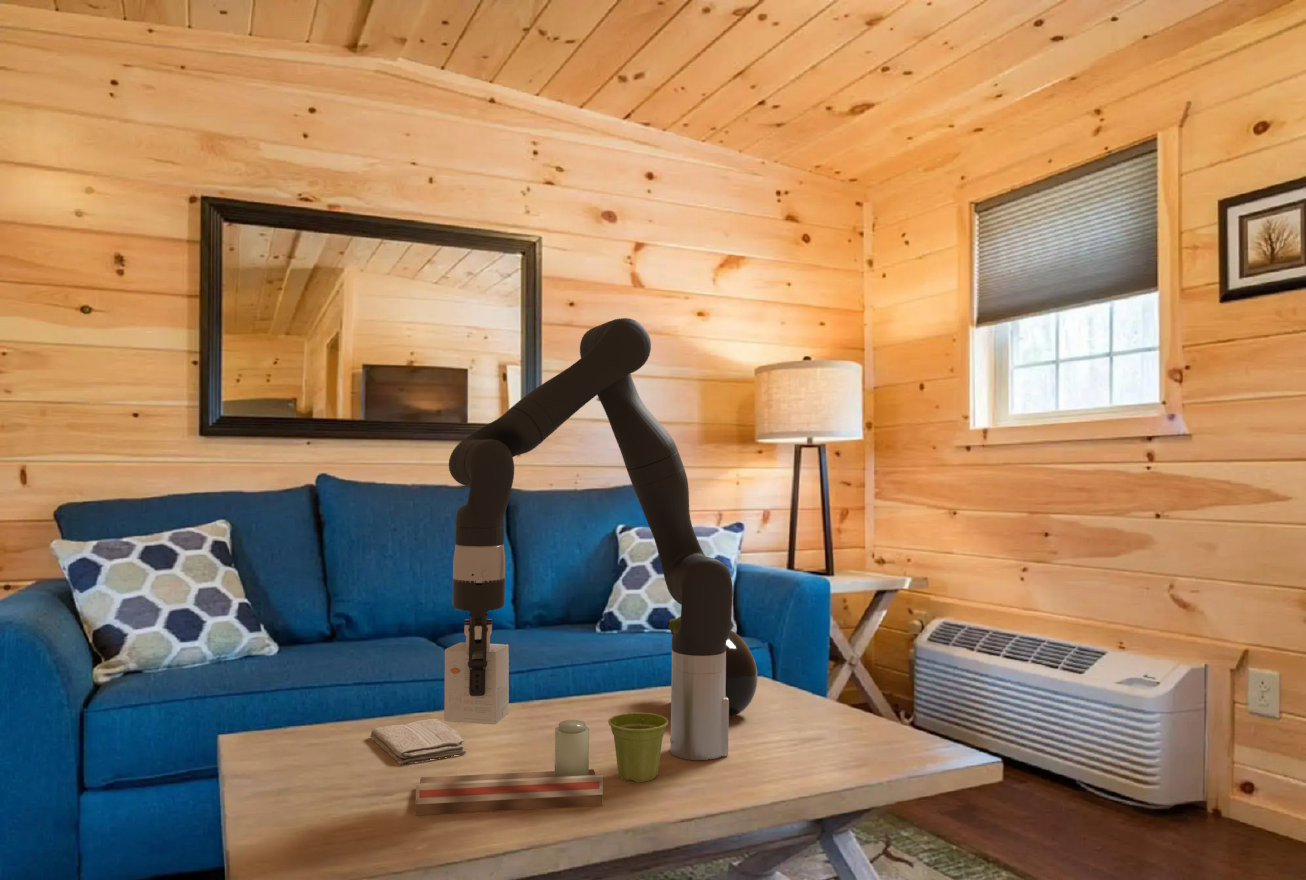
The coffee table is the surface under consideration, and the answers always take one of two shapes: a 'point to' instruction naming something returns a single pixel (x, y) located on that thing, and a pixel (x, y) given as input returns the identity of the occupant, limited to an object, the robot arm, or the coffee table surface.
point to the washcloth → (419, 741)
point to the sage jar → (571, 749)
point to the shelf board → (506, 792)
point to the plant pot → (638, 744)
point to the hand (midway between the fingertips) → (477, 688)
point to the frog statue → (735, 671)
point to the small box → (457, 686)
